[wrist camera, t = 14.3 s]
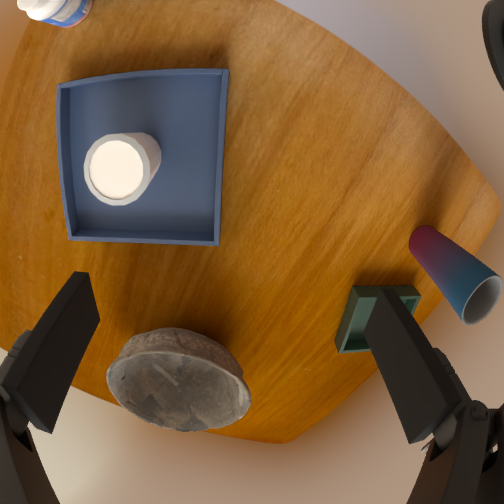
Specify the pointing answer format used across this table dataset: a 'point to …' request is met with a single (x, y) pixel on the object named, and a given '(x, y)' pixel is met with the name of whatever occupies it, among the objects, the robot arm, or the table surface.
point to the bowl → (179, 380)
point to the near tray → (172, 153)
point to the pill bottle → (57, 11)
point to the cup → (457, 274)
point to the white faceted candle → (121, 166)
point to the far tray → (366, 315)
